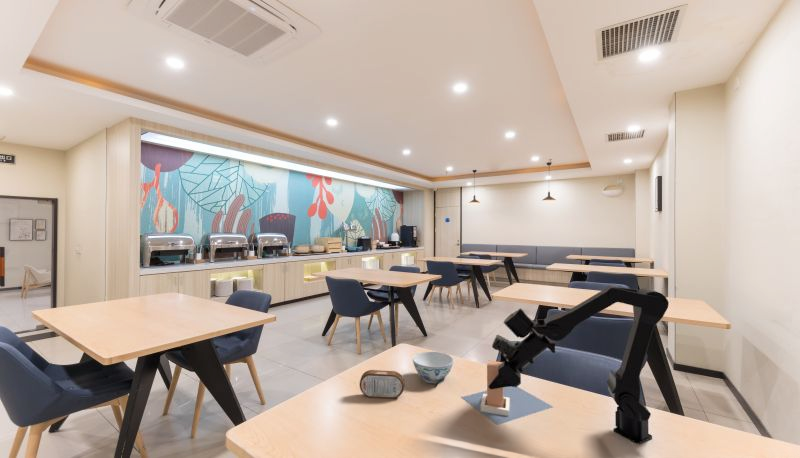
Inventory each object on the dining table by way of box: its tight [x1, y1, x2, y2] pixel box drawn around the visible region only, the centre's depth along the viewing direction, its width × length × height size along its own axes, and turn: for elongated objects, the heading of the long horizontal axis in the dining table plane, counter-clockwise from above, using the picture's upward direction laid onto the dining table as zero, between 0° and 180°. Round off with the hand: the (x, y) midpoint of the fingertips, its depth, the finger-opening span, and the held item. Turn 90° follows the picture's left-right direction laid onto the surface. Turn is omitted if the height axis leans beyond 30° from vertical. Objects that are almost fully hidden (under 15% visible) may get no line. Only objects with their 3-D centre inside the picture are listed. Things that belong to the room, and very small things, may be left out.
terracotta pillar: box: [486, 360, 504, 408], centre depth 100 cm, size 4×4×13 cm
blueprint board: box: [460, 386, 554, 426], centre depth 103 cm, size 17×22×1 cm
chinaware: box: [412, 351, 454, 384], centre depth 122 cm, size 15×15×8 cm
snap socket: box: [481, 394, 510, 416], centre depth 100 cm, size 8×8×2 cm
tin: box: [359, 369, 406, 400], centre depth 109 cm, size 15×3×8 cm, turn 84°
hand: (490, 381), depth 101 cm, fingers open, 9 cm apart
